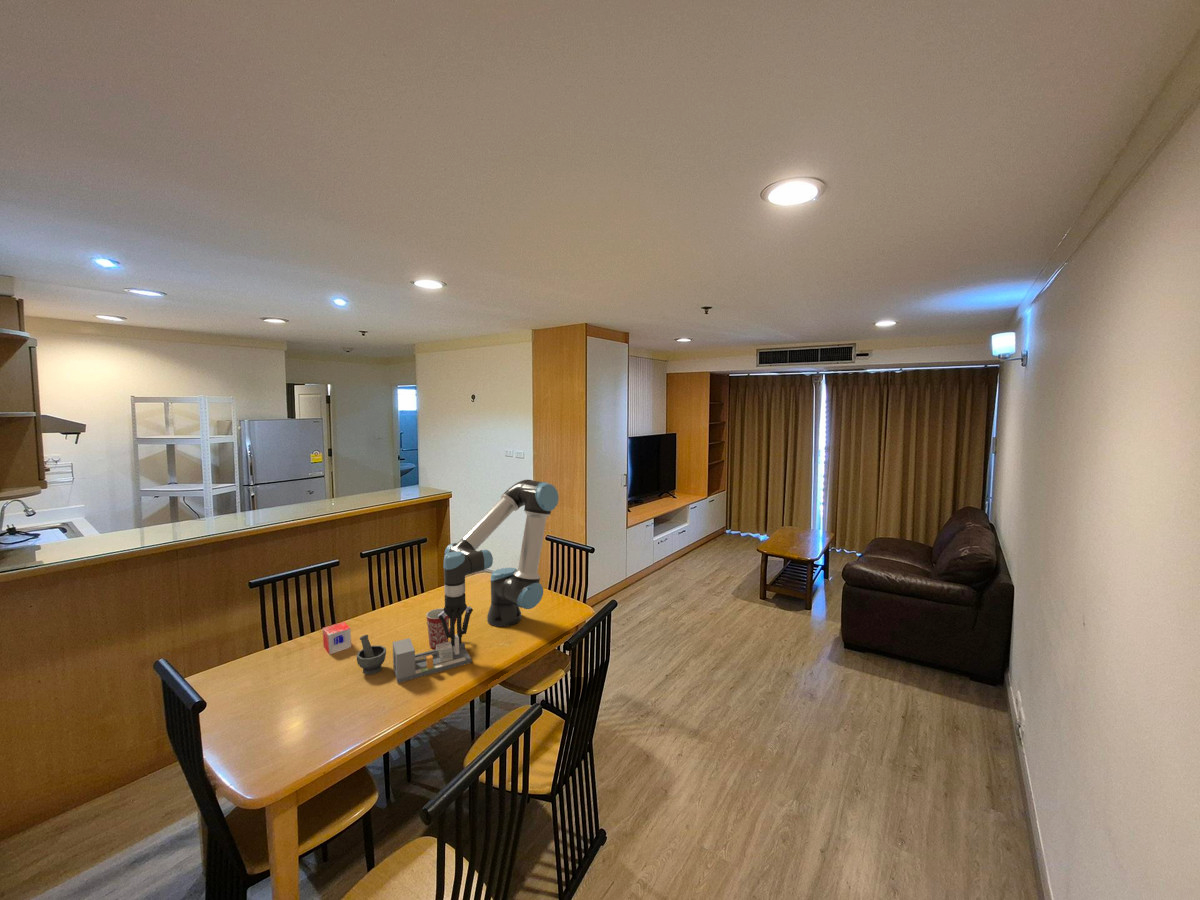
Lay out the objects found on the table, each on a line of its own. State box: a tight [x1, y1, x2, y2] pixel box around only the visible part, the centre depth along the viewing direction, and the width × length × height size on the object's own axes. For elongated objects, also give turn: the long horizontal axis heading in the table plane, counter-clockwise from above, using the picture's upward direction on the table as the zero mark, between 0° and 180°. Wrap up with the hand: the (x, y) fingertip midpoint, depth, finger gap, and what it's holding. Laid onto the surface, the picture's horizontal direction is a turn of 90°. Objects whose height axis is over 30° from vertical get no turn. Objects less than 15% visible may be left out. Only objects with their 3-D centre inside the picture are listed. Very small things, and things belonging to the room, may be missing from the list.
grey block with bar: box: [395, 641, 453, 666], centre depth 173 cm, size 20×7×5 cm, turn 121°
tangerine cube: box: [426, 655, 433, 669], centre depth 171 cm, size 2×2×4 cm
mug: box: [425, 608, 457, 650], centre depth 191 cm, size 13×9×14 cm
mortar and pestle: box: [356, 634, 387, 676], centre depth 172 cm, size 11×9×12 cm
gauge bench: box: [392, 637, 472, 684], centre depth 175 cm, size 26×10×10 cm, turn 121°
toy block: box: [322, 621, 352, 655], centre depth 188 cm, size 8×8×8 cm
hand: (456, 652), depth 180 cm, fingers closed
